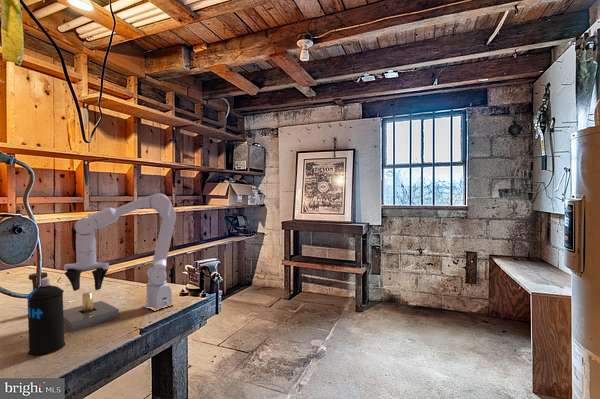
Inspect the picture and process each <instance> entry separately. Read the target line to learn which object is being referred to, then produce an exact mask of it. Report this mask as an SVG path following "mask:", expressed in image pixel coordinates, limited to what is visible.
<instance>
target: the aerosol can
mask: <svg viewBox="0 0 600 399" xmlns="http://www.w3.org/2000/svg"><path fill="white" fill-rule="evenodd" d="M63 293H64V289H62V288H61V287H59V286H56V285H51V283H50V278H49V277H46V278H44V279H41V287H39V288H37V289H35V290H33V289H32V291H31V292H30V293H29V294H28V295H27V296H26V299H27V320H28V321H27V322H28V323H27V326H28V352H27V355H29V356H30V357H42V356H46V355H49V354H52V353H55V352H57V351H60V350H62V349H63V348H64V347H65V345H66V342H65V326H64V317H63V310H64V294H63Z"/></svg>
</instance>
